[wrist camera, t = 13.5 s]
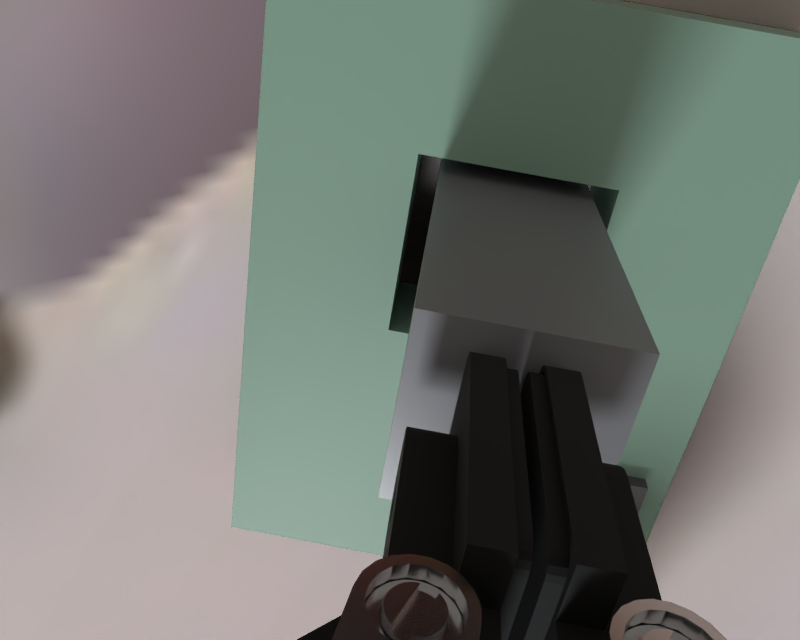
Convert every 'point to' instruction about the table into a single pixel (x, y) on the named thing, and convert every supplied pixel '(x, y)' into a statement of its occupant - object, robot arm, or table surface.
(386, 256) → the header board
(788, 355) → the table surface
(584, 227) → the keyed plug
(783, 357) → the table surface
